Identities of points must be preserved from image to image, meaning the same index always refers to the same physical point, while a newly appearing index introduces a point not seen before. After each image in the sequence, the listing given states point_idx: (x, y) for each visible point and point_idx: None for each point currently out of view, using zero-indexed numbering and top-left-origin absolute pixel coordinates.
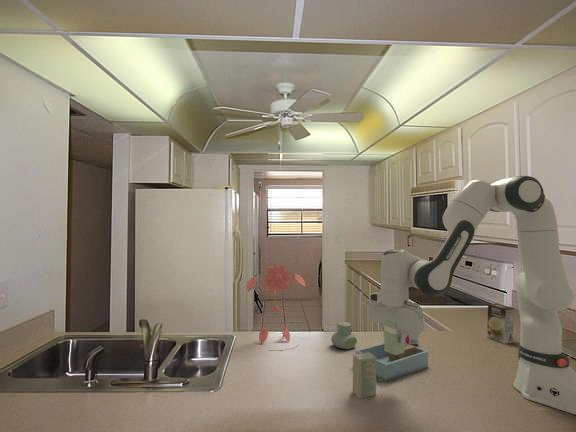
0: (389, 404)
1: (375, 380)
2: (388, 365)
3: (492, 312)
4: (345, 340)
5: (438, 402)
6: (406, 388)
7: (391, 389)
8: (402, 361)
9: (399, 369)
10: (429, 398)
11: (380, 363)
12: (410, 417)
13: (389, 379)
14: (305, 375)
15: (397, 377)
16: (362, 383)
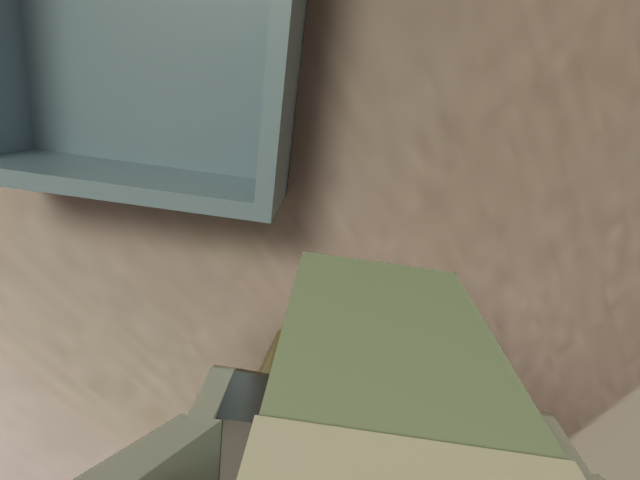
0: None
1: None
2: (274, 195)
3: None
4: None
5: (607, 172)
6: (407, 166)
7: (355, 243)
8: (293, 7)
9: (295, 57)
10: (553, 169)
11: (217, 213)
12: (539, 388)
13: (289, 163)
14: (11, 435)
15: (297, 80)
16: None
